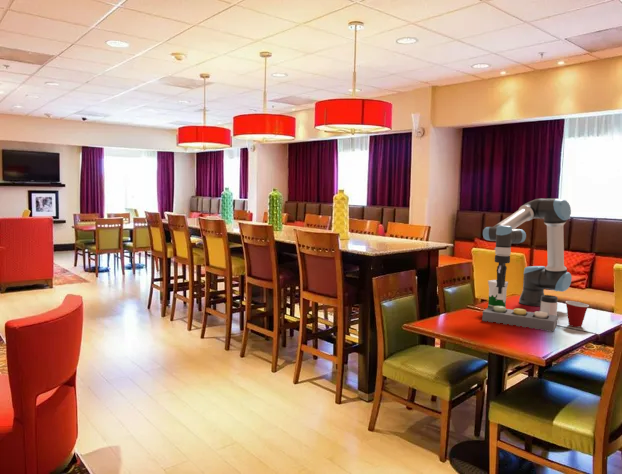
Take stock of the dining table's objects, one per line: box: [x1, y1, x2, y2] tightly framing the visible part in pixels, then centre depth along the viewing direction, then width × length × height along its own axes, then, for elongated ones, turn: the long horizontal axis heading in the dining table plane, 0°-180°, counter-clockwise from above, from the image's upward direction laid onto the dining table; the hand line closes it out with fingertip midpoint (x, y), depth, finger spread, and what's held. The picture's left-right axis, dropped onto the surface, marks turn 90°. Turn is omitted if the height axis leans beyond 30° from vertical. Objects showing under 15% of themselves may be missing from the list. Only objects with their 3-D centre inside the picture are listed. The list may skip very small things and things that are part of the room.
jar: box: [539, 294, 559, 316], centre depth 268 cm, size 9×8×12 cm
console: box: [481, 306, 559, 332], centre depth 258 cm, size 14×34×5 cm, turn 57°
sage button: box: [494, 306, 507, 312], centre depth 263 cm, size 6×6×2 cm
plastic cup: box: [565, 300, 590, 328], centre depth 254 cm, size 11×11×12 cm
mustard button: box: [513, 307, 527, 315], centre depth 257 cm, size 6×6×2 cm
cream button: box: [533, 310, 548, 318], centre depth 252 cm, size 6×6×2 cm
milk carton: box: [487, 279, 509, 308], centre depth 278 cm, size 9×9×20 cm
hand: (499, 299), depth 262 cm, fingers closed
